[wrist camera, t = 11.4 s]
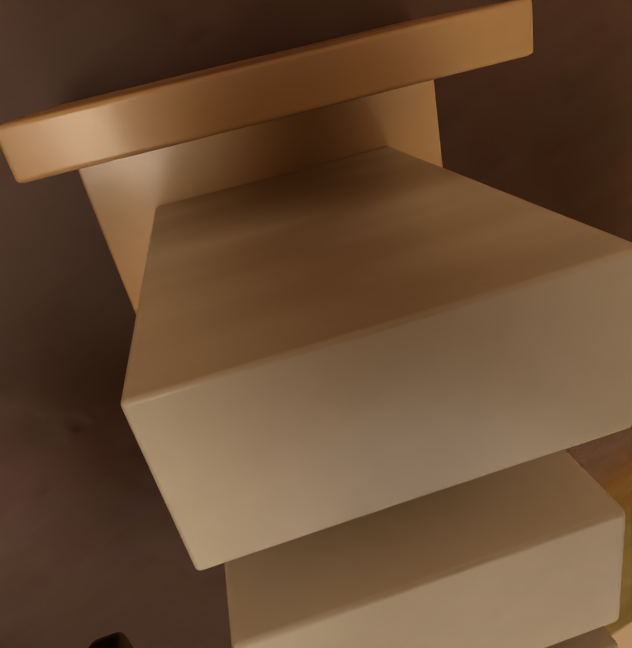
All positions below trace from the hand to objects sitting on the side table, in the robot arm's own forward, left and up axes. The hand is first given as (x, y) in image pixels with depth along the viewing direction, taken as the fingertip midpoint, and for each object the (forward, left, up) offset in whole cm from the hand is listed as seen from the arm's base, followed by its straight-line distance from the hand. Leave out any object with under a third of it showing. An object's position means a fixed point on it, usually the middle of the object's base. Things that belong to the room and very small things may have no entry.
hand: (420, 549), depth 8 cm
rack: (0, 0, -8) cm, 8 cm away
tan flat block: (-1, 0, -7) cm, 7 cm away
